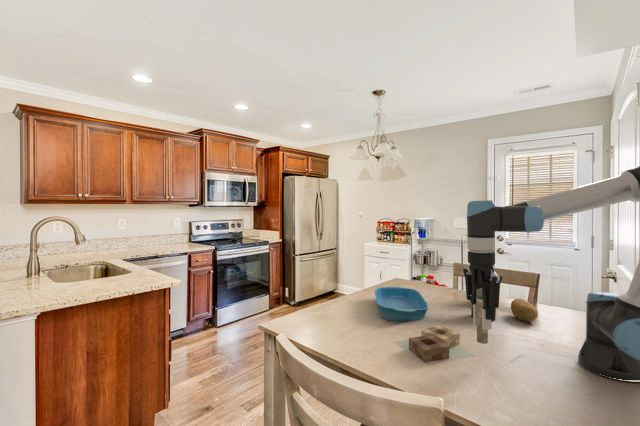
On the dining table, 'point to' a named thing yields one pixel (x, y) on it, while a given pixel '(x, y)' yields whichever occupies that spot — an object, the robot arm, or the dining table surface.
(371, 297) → the dining table surface
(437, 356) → the brown square wooden frame
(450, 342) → the light wooden square frame
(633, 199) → the robot arm
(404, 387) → the dining table surface
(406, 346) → the pale green flat mat
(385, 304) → the casserole dish
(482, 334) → the banded wooden cylinder
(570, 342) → the dining table surface
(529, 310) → the potato
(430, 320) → the dining table surface
